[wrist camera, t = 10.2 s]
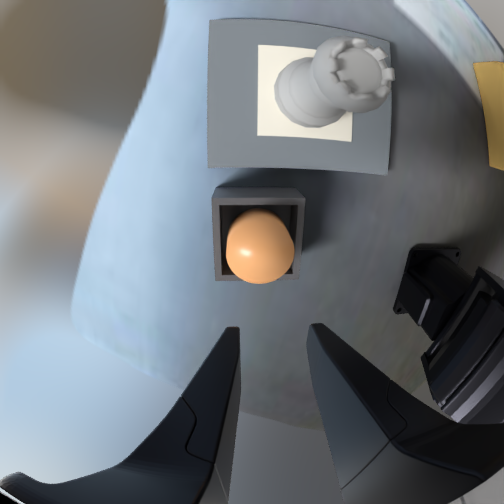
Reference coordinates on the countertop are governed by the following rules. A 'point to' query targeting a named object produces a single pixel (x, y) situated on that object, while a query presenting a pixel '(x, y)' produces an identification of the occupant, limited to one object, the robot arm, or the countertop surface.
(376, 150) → the slate board
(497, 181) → the countertop surface
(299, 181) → the countertop surface
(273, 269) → the button
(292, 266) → the button housing
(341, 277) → the countertop surface
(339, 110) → the rook chess piece
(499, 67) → the rubber stamp
